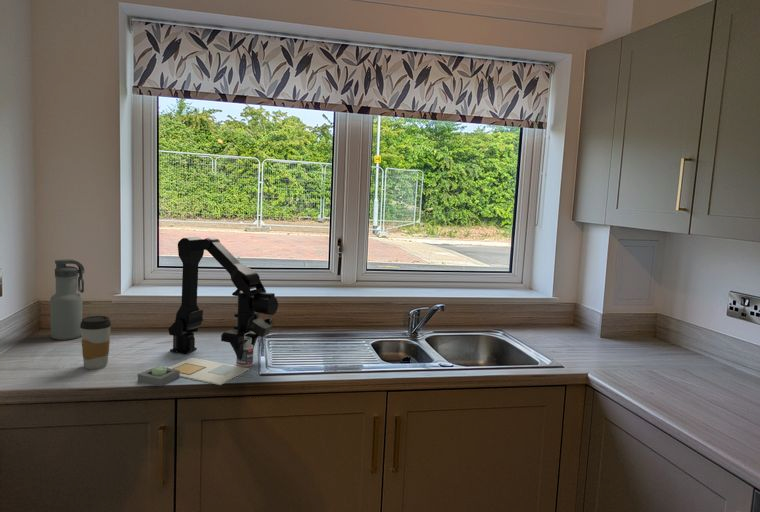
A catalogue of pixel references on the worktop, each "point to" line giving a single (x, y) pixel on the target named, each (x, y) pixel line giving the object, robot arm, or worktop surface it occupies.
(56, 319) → the water bottle
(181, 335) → the robot arm
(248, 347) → the pill bottle
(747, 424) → the worktop surface
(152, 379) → the button housing
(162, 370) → the button
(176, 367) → the picture board
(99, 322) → the coffee cup
